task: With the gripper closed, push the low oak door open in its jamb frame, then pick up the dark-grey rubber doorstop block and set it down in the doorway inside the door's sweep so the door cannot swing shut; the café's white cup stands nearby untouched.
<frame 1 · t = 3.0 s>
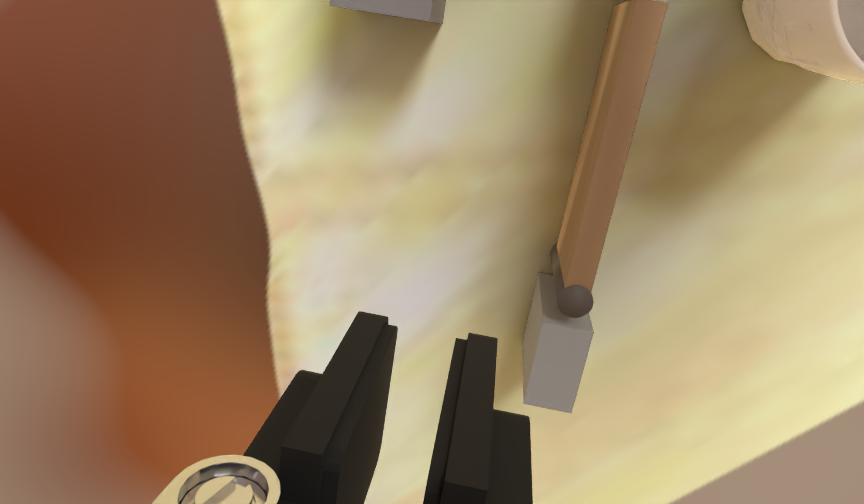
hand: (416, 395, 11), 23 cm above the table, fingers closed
hinge jamb: (550, 311, 35), on the table
door: (598, 159, 29), point 3 cm above the table, hinge at 0.0°
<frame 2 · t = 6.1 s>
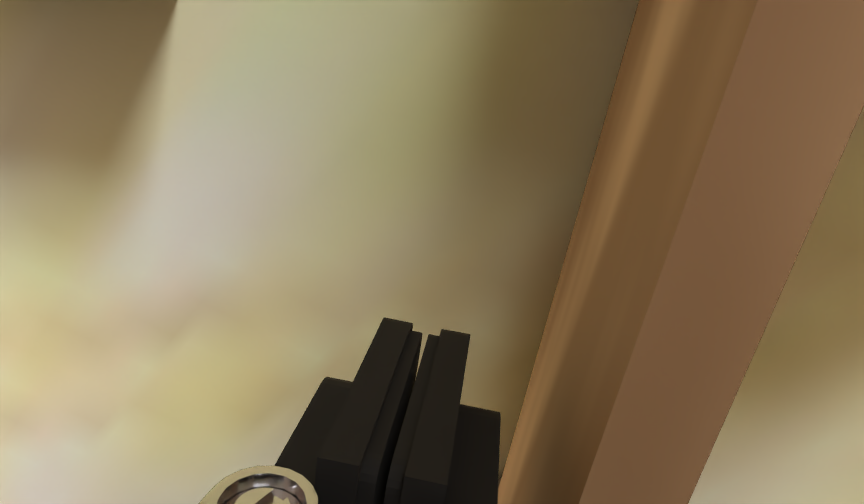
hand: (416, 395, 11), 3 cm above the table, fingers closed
door: (602, 362, 10), point 3 cm above the table, hinge at 4.3°, touching gripper
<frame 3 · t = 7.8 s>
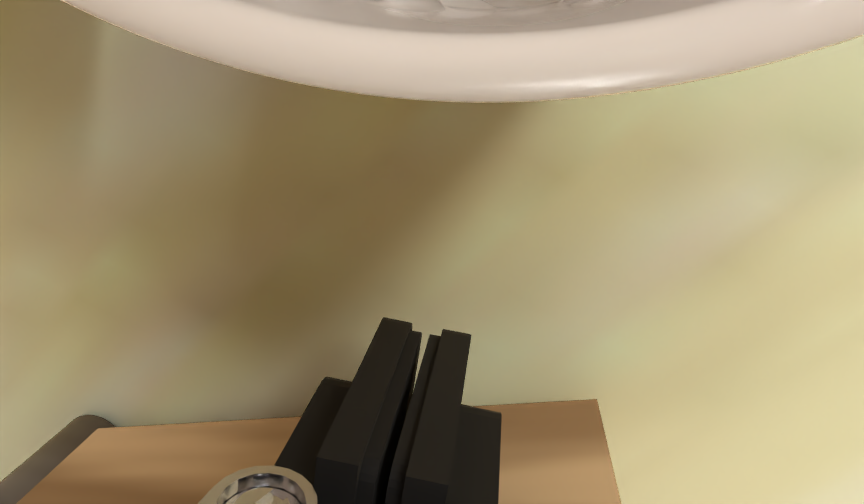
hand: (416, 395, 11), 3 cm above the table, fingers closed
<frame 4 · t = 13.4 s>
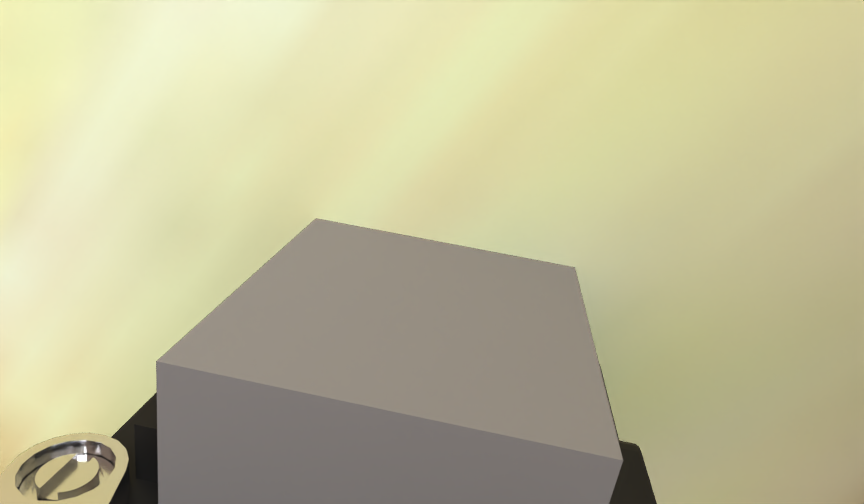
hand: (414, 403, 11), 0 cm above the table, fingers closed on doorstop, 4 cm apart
doorstop: (418, 387, 11), on the table, touching gripper
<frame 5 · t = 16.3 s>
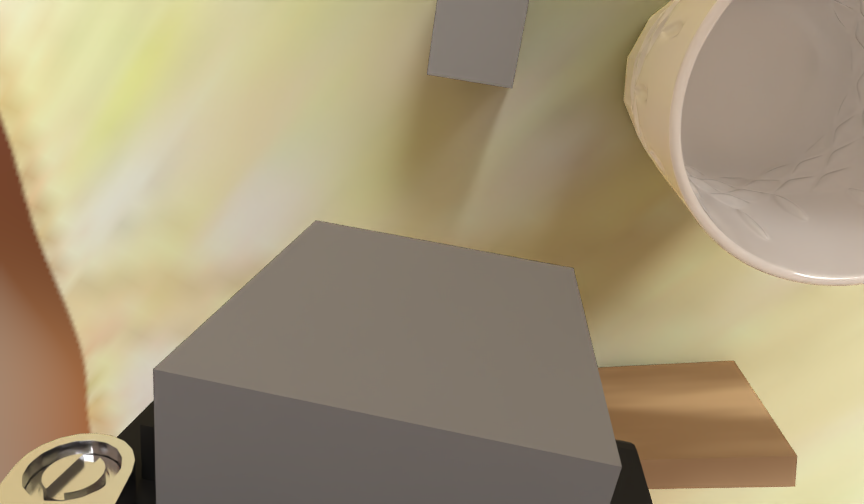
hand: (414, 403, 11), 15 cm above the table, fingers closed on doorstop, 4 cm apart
doorstop: (418, 391, 11), point 14 cm above the table, touching gripper
white cup: (717, 77, 22), on the table
door: (569, 421, 23), point 3 cm above the table, hinge at 73.5°
when the fingers open (2 cm above the table, at t = 18.8 s): doorstop drops 1 cm, on the table.
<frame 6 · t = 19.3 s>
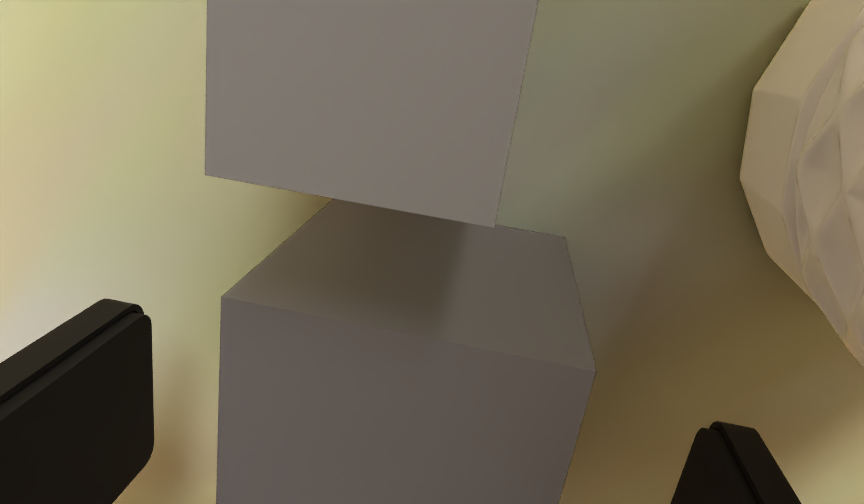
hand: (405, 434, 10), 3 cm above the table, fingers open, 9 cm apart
doorstop: (427, 348, 13), on the table
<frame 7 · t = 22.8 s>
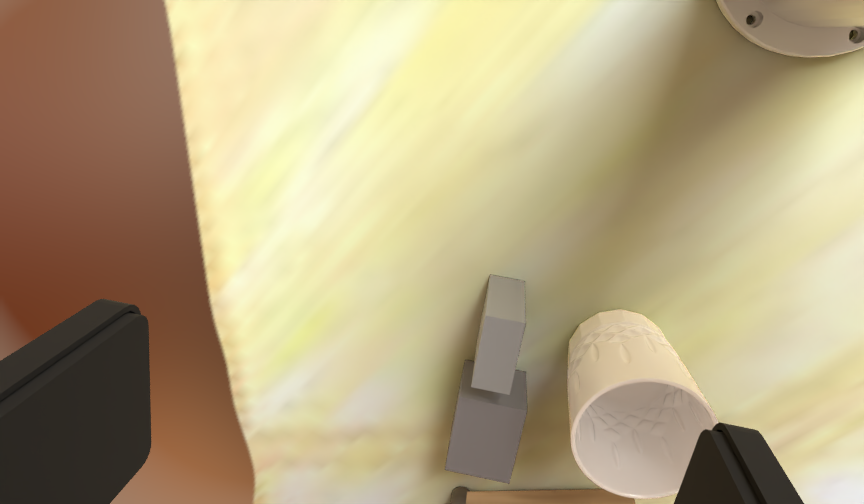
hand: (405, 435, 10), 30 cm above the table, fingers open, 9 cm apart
doorstop: (487, 399, 45), on the table
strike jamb: (500, 310, 42), on the table
white cup: (615, 350, 42), on the table
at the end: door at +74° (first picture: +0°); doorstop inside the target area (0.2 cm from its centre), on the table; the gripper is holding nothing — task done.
